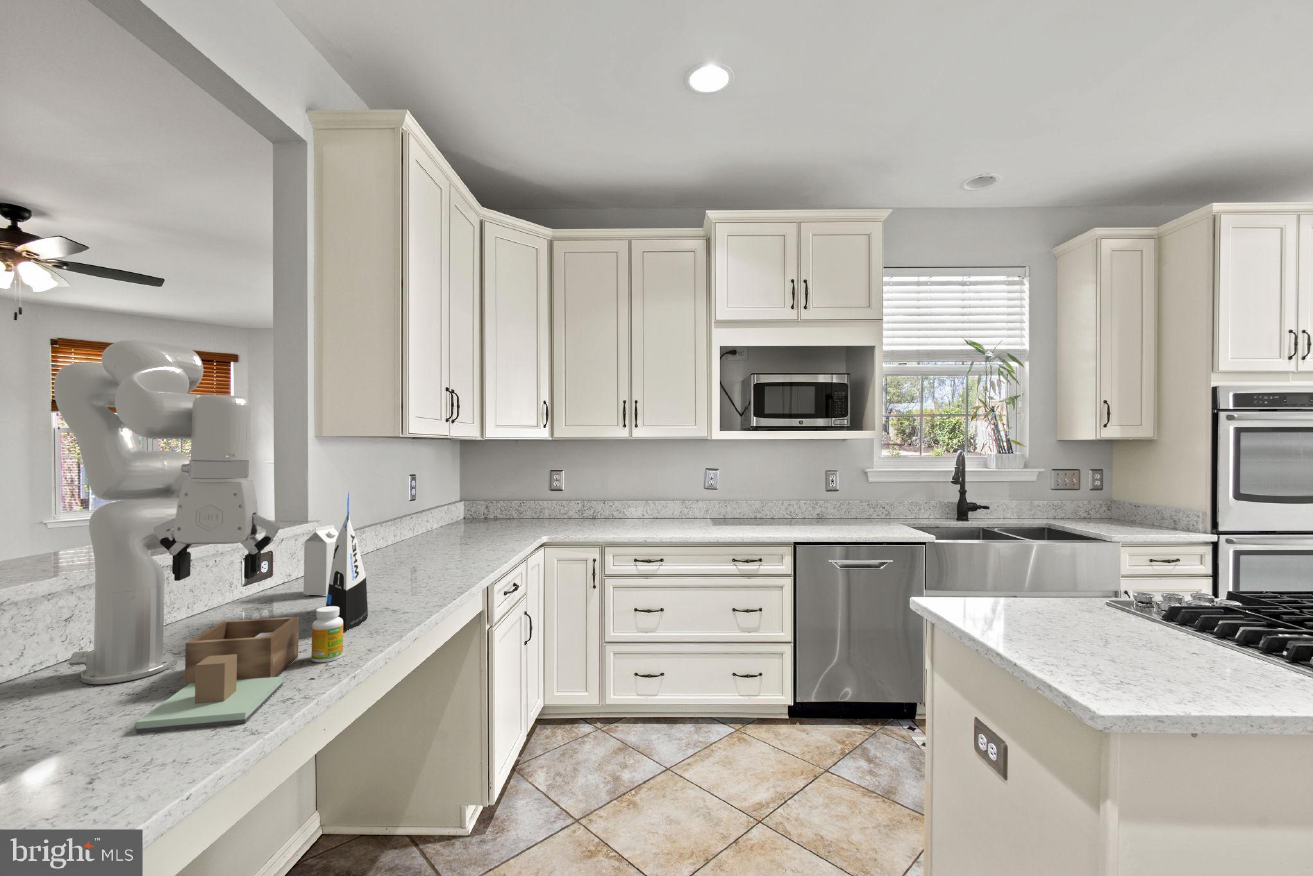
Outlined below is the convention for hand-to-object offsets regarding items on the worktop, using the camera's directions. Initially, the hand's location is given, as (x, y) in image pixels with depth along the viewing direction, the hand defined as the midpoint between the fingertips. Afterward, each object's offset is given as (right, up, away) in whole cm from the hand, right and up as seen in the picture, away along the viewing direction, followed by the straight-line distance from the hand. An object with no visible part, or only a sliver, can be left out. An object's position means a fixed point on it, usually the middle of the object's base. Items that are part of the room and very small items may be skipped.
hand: (217, 577), depth 93 cm
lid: (0, -20, 0) cm, 20 cm away
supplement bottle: (+6, -21, +21) cm, 30 cm away
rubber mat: (0, -21, 0) cm, 21 cm away
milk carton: (-24, -22, +71) cm, 78 cm away
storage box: (-5, -21, +14) cm, 25 cm away
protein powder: (-5, -22, +48) cm, 53 cm away
